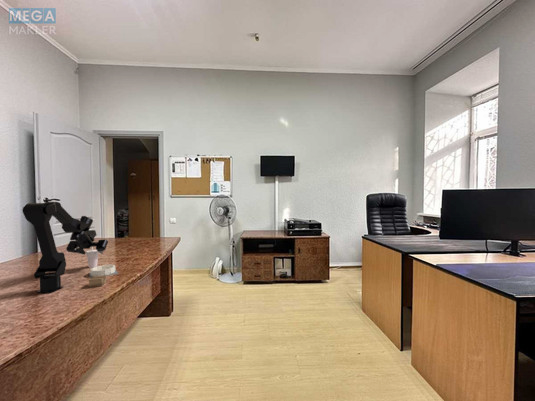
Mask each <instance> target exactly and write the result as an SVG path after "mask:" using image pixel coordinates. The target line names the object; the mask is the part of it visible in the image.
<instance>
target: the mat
mask: <svg viewBox="0 0 535 401" xmlns="http://www.w3.org/2000/svg"><path fill="white" fill-rule="evenodd" d="M87 274H88V276H89V280H90V279H91V278H92V277H93V276H91V274H90V272H88V273H87ZM118 274H119V272H118V270H117V269H116V268H115V273H113V274H110V275H106V277H108V276H113V275H118Z"/></svg>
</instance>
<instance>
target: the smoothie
mask: <svg viewBox="0 0 535 401" xmlns="http://www.w3.org/2000/svg"><path fill="white" fill-rule="evenodd" d="M99 254H100V253H99V252H98V251H97V250H96V249H94V247H91V249H90V250H86V251H85V255H86V258H87V264H88V268H90V269H91V268H94V267H97V266H98V262H99V261H98V260H99Z"/></svg>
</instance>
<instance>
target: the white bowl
mask: <svg viewBox="0 0 535 401" xmlns="http://www.w3.org/2000/svg"><path fill="white" fill-rule="evenodd" d="M115 269H116V265H115V264H104V265H97V267H94V268H90V270H89V271H90V272H89V273H90V274H91V276H93V277H94V276H103V275H109V276H111V275H110V274H113V273H115Z"/></svg>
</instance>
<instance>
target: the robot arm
mask: <svg viewBox="0 0 535 401" xmlns="http://www.w3.org/2000/svg"><path fill="white" fill-rule="evenodd" d="M22 214H23V216H24V218H25V220H26V221H27V222H28V223H30V224H31V225H32V226H33V229H34V232H35V235H36V239H37V243H38V246H39V248H40V249H39V250H40V252H41V257H40V259H39V262H38V267H37V268H36V270H35V271H34V273H33V276H34V279H35V280H36V279H39V290H37V291H36V293H37V294H51V293H53V292H56V291H58V290H61V289H63V288H64V286H63V285H62V280H61V278H62V277H61V276H63V275H65V273H66V267H67V261H66V260H67V258H66V256H65V253H64V251H63V252H62V251H61V252H59V251H58V248H57V246H56V242H55V239H54V234H53V231H52V227H51V224H50V221H51V219H52V217H53V218H55V220H57V221H58V222H59V223H60V224H61V229H62V230H63V232H64V233H66V234H70V235H71V236H70V238H69V240H70V241H69V242H68V244H67V245H66V248H65V249H66V251H67V252H68V253H75V254H80V255H86V251H85V250H87V249H90V250H91V248H92V247H93V248H94V247H95V250H97V251H98V252H99V254H101V255H103V254H104V251H105V250H106V249H107V246H108V244H109V241H108V240H107V239H98V241H95V240H96V239H95V237H97V232H96V230H95V229H91V226H92V225H93V223H94V220H93V218H91V217H89V216H88V217H87V216H86V215H82V216H80V217H81V218H80V219H77V218H74V217H72V215H71V214H70V213H69V212H67V211H66V209H64V207H63V206H62V204H61V203H60V202H58V201H46V202H29V203H26V204H25V206H23V207H22ZM90 229H91V230H90ZM94 241H95V242H94Z"/></svg>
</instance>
